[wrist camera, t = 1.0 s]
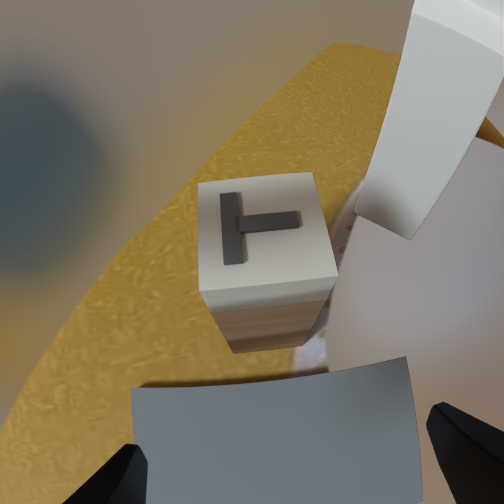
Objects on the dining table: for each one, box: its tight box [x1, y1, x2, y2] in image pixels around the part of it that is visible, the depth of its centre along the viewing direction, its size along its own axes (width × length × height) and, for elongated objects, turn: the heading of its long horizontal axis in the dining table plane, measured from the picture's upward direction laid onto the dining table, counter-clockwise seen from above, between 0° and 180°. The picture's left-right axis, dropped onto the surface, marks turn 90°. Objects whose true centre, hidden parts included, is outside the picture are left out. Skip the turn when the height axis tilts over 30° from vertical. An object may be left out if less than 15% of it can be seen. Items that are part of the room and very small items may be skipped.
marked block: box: [198, 172, 338, 353], centre depth 18 cm, size 5×5×13 cm
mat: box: [131, 357, 423, 504], centre depth 18 cm, size 12×20×1 cm, turn 96°
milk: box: [353, 0, 504, 240], centre depth 18 cm, size 6×6×22 cm
